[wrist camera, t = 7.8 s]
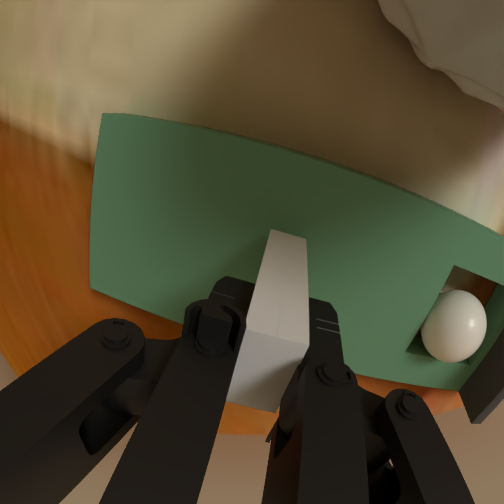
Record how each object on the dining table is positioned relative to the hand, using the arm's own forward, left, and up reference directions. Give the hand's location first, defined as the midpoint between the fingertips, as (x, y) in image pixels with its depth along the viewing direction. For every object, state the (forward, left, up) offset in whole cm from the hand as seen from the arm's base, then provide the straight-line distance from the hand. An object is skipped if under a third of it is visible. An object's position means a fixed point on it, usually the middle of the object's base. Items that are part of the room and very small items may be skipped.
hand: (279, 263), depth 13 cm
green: (+4, -1, -3) cm, 5 cm away
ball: (+9, -1, -2) cm, 9 cm away
